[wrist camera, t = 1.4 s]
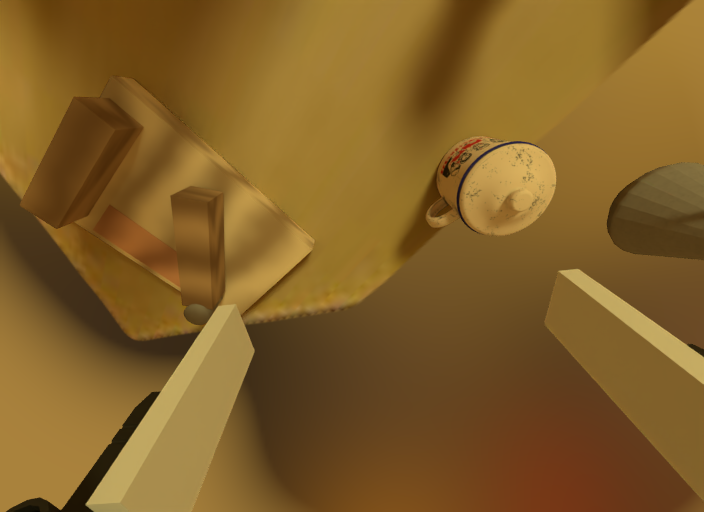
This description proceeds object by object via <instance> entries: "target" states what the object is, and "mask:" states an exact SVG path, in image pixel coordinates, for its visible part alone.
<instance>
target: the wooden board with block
mask: <svg viewBox="0 0 704 512" xmlns="http://www.w3.org/2000/svg"><path fill="white" fill-rule="evenodd" d="M189 186H194V187H200V188H205V189H210V190H216V191H221V192H223V203H224V256H225V292H224V293H223V299H222V301H221V302H220V304H219V305H218V306H222V305H231V304H236V305H237V308H238V310H239V313H240V315H242V314H243V313H244V312H245V311H246V310H247V309H248V308H249V307H250V306H251V305H253V304H254V303H255V302H256V301H257V300H258V299H259V298H260V297H261V296H262V295H264V294H265V293H266V292H267V291H268V290H269V289H270V288H271V287H272V286H273V285H274V284H276V283H277V282H278V281H279V280H280V279H281V278H282V277H283V276H284V275H285V274H287V273H288V272H289V271H290V270H291V269H292V268H293V267H294V266H295V265H296V264H297V263H299V262H300V261H301V260H302V259H303V258H304V257H305V256H306V255H307V254H308V253H310V252H311V251H312V249H313V245H314V242H315V240H314V239H313V238H312V237H311V236H310V235H308V234H307V233H306V232H305V231H304V230H303V229H302V228H301V227H299V226H298V225H297V224H296V223H295V222H294V221H293V220H292V219H291V218H289V217H288V216H287V215H286V214H285V213H284V212H283V211H282V210H280V209H279V208H278V207H277V206H276V205H275V204H274V203H273V202H271V201H270V200H269V199H268V198H267V197H266V196H265V195H264V194H262V193H261V192H260V191H259V190H258V189H257V188H256V187H255V186H253V185H252V184H251V183H250V182H249V181H248V180H247V179H246V178H244V177H243V176H242V175H241V174H240V173H239V172H238V171H237V170H235V169H234V168H233V167H232V166H231V165H230V164H229V163H228V162H226V161H225V160H224V159H223V158H222V157H221V156H220V155H219V154H217V153H216V152H215V151H214V150H213V149H212V148H211V147H210V146H208V145H207V144H206V143H205V142H204V141H203V140H202V139H201V138H199V137H198V136H197V135H196V134H195V133H194V132H193V131H192V130H190V129H189V128H188V127H187V126H186V125H185V124H184V123H183V122H181V121H180V120H179V119H178V118H177V117H176V116H175V115H174V114H172V113H171V112H170V111H169V110H168V109H167V108H166V107H165V106H163V105H162V104H161V103H160V102H159V101H158V100H157V99H156V98H154V97H153V96H152V95H151V94H150V93H149V92H148V91H147V90H145V89H144V88H143V87H142V86H141V85H140V84H139V83H138V82H137V81H135V80H134V79H133V78H126V77H119V76H111V77H110V79H109V81H108V83H107V85H106V87H105V88H104V90H103V92H102V94H101V96H100V98H92V97H74V98H73V100H72V102H71V104H70V106H69V108H68V110H67V112H66V114H65V116H64V118H63V120H62V122H61V124H60V126H59V128H58V130H57V132H56V134H55V136H54V138H53V140H52V142H51V143H50V145H49V147H48V149H47V151H46V153H45V155H44V157H43V159H42V161H41V163H40V165H39V167H38V169H37V171H36V173H35V175H34V177H33V179H32V181H31V183H30V185H29V187H28V189H27V191H26V193H25V195H24V197H23V199H22V201H21V203H20V206H21V207H23V208H24V209H26V210H27V211H29V212H31V213H32V214H34V215H35V216H37V217H38V218H40V219H42V220H43V221H45V222H46V223H48V224H50V225H51V226H53V227H54V228H56V229H58V228H60V227H62V226H65V225H67V224H70V223H72V222H74V223H76V224H77V225H79V226H81V227H82V228H84V229H85V230H87V231H88V232H90V233H91V234H93V235H94V236H96V237H97V238H99V239H100V240H102V241H103V242H105V243H107V244H108V245H110V246H111V247H113V248H114V249H116V250H117V251H119V252H120V253H122V254H123V255H125V256H126V257H128V258H129V259H131V260H133V261H134V262H136V263H137V264H139V265H140V266H142V267H143V268H145V269H146V270H148V271H149V272H151V273H152V274H154V275H155V276H157V277H159V278H160V279H162V280H163V281H165V282H166V283H168V284H169V285H171V286H172V287H174V288H175V289H177V290H178V291H180V292H181V288H180V279H179V270H178V261H177V252H176V243H175V234H174V225H173V216H172V207H171V198H170V196H171V195H173V194H175V193H177V192H179V191H181V190H183V189H185V188H187V187H189ZM216 309H217V308H216ZM214 312H215V311H214Z"/></svg>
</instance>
